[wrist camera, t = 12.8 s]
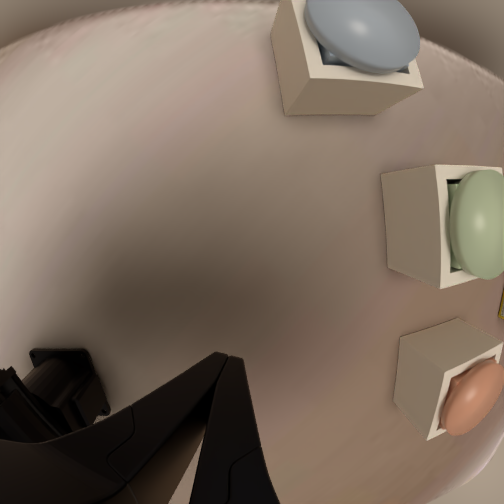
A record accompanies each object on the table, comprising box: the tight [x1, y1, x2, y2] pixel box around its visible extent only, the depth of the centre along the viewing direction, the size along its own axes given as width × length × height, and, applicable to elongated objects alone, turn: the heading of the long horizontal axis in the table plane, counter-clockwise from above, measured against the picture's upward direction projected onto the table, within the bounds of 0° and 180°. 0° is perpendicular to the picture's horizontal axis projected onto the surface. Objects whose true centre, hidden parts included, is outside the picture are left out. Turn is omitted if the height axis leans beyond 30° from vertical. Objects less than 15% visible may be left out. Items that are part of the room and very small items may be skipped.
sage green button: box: [447, 169, 504, 279], centre depth 15 cm, size 6×6×4 cm
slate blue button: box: [304, 0, 420, 74], centre depth 12 cm, size 6×6×4 cm
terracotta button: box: [438, 357, 504, 436], centre depth 17 cm, size 6×6×4 cm
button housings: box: [270, 0, 503, 441], centre depth 17 cm, size 15×32×6 cm, turn 7°
